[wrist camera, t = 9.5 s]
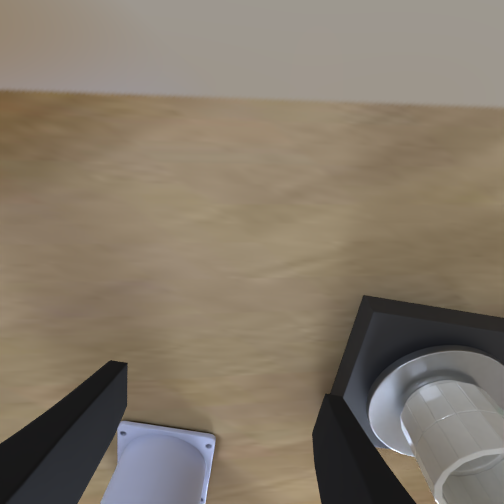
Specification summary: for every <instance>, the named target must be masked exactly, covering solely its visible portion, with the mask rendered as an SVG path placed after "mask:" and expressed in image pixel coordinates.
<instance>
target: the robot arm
mask: <svg viewBox="0 0 504 504" xmlns="http://www.w3.org/2000/svg"><path fill="white" fill-rule="evenodd" d="M126 407H127V363H125V362H118V361H112V360H110V361H109V362H107V363H106V364H105V365H104V366H102V367H101V368H100V369H99V370H98V371H96V372H95V373H94V374H93V375H92V376H90V377H89V378H88V379H87V380H86V381H84V382H83V383H82V384H81V385H79V386H78V387H77V388H76V389H74V390H73V391H72V392H71V393H69V394H68V395H67V396H66V397H64V398H63V399H62V400H60V401H59V402H58V403H57V404H55V405H54V406H53V407H51V408H50V409H49V410H47V411H46V412H45V413H43V414H42V415H41V416H39V417H38V418H36V419H35V420H34V421H32V422H31V423H29V424H28V425H27V426H25V427H24V428H23V429H21V430H20V431H18V432H17V433H15V434H14V435H12V436H11V437H10V438H8V439H7V440H5V441H4V442H2V443H1V444H0V504H77V503H78V502H79V500H80V498H81V496H82V494H83V492H84V491H85V489H86V487H87V485H88V483H89V481H90V480H91V478H92V476H93V474H94V472H95V470H96V469H97V467H98V465H99V463H100V461H101V460H102V458H103V456H104V454H105V452H106V450H107V448H108V447H109V445H110V443H111V441H112V439H113V437H114V435H115V433H116V431H117V428H118V465H117V467H116V469H115V471H114V473H113V476H112V478H111V480H110V482H109V484H108V487H107V489H106V491H105V493H104V496H103V498H102V500H101V502H100V504H205V502H206V496H207V490H208V484H209V478H210V472H211V465H212V459H213V453H214V447H215V441H216V437H215V436H214V435H213V434H209V433H203V432H196V431H189V430H183V429H176V428H170V427H163V426H156V425H150V424H143V423H136V422H130V421H121V419H122V416H123V414H124V411H125V409H126ZM120 421H121V422H120ZM312 438H313V452H314V463H315V470H316V476H317V481H318V487H319V493H320V498H321V503H322V504H416V503H415V501H414V500H413V499H412V498H411V496H410V495H409V494H408V492H407V491H406V490H405V488H404V487H403V486H402V484H401V483H400V482H399V480H398V479H397V478H396V476H395V475H394V474H393V472H392V471H391V469H390V468H389V467H388V465H387V464H386V462H385V461H384V460H383V458H382V457H381V455H380V454H379V452H378V451H377V449H376V448H375V446H374V445H373V443H372V442H371V440H370V439H369V437H368V436H367V434H366V433H365V431H364V430H363V428H362V427H361V425H360V424H359V422H358V421H357V419H356V417H355V416H354V414H353V413H352V411H351V409H350V408H349V406H348V405H347V403H346V402H345V400H344V399H343V397H342V396H337V395H331V394H325V396H324V399H323V402H322V405H321V408H320V411H319V414H318V417H317V420H316V424H315V427H314V430H313V433H312Z"/></svg>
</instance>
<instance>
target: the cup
mask: <svg viewBox="0 0 504 504" xmlns="http://www.w3.org/2000/svg"><path fill="white" fill-rule="evenodd" d="M400 416H401V428H402V431H403V433H404V435H405V437H406V439H407V441H408V443H409V446H410V448H411V450H412V452H413V454H414V456H415V458H416V460H417V463H418V465H419V467H420V469H421V471H422V473H423V475H424V478H425V480H426V482H427V484H428V486H429V488H430V490H431V492H432V495H433V497H434V499H435V500H436V502H437V503H438V504H504V411H503V410H502V409H501V408H500V407H499V406H498V404H497V403H496V402H495V401H494V400H493V399H492V398H491V396H490V395H489V394H488V393H487V392H486V391H484V390H482V389H481V388H479V387H477V386H475V385H474V384H469V383H464V382H461V381H456V380H441V381H436V382H432V383H429V384H427V385H424V386H423V387H421V388H419V389H418V390H416V391H415V392H414V393H412V395H411V396H410V397H409V398H408V399H407V401H406V403H405V405H404V408H403V411H402V413H401V415H400Z"/></svg>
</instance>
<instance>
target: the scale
mask: <svg viewBox="0 0 504 504" xmlns="http://www.w3.org/2000/svg"><path fill="white" fill-rule="evenodd" d="M441 345H461V346H468V347H472V348H476V349H479V350H482V351H484V352H486V353H488V354H490V355H492V356H493V357H495V358H496V359H497V360H499V361H500V362H501V363H502V364H503V365H504V318H500V317H494V316H488V315H482V314H476V313H469V312H463V311H457V310H451V309H445V308H439V307H433V306H426V305H420V304H414V303H408V302H402V301H396V300H390V299H383V298H377V297H371V296H365V295H364V296H363V298H362V301H361V304H360V307H359V310H358V313H357V316H356V319H355V322H354V325H353V328H352V331H351V334H350V337H349V340H348V343H347V346H346V349H345V352H344V355H343V357H342V360H341V363H340V366H339V369H338V372H337V375H336V378H335V381H334V384H333V387H332V390H331V393H330V394H331V395H337V396H342V397H343V399H344V400H345V402H346V403H347V405H348V406H349V408H350V409H351V411H352V413H353V414H354V416H355V417H356V419H357V421H358V422H359V424H360V425H361V427H362V428H363V430H364V431H365V433H366V434H367V436H368V437H369V439H370V440H371V442H372V443H373V445H374V446H375V447H380V448H387V449H391V448H389V447H388V446H386V445H385V444H384V443H382V442H381V441H380V440H379V439H378V437H377V436H376V435H375V434H374V432H373V431H372V428H371V426H370V423H369V421H368V418H367V414H366V401H367V396H368V393H369V390H370V388H371V386H372V384H373V383H374V381H375V380H376V378H377V377H378V376H379V375H380V374H381V373H382V371H384V370H385V369H386V368H387V367H388V366H389V365H391V364H392V363H394V362H395V361H396V360H398V359H400V358H402V357H404V356H405V355H408V354H410V353H412V352H415V351H418V350H421V349H424V348H428V347H433V346H441Z"/></svg>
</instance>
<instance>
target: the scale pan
mask: <svg viewBox="0 0 504 504" xmlns="http://www.w3.org/2000/svg"><path fill="white" fill-rule="evenodd" d="M441 380H456V381H461V382H464V383H469V384H474V385H475V386H477V387H479V388H481V389H482V390H484V391H486V392H487V393H488V394H489V395H490V396H491V398H492V399H493V400H494V401H495V402H496V403H497V404H498V406H499V407H500V408H501V409H502V410H503V411H504V365H503V364H502V363H501V362H500V361H499V360H497V359H496V358H495V357H493V356H492V355H490V354H488V353H486V352H484V351H482V350H479V349H476V348H472V347H468V346H461V345H441V346H433V347H428V348H424V349H421V350H418V351H415V352H412V353H410V354H408V355H405V356H404V357H402V358H400V359H398V360H396V361H395V362H394V363H392V364H391V365H389V366H388V367H387V368H386V369H385V370H384V371H382V373H381V374H380V375H379V376H378V377H377V378H376V380H375V381H374V383H373V384H372V386H371V388H370V390H369V393H368V396H367V401H366V414H367V418H368V421H369V423H370V426H371V428H372V431H373V432H374V434H375V435H376V436H377V437H378V439H379V440H380V441H381V442H382V443H384V444H385V445H386V446H388V447H389V448H391V449H393V450H395V451H397V452H399V453H402V454H405V455H409V456H414V454H413V452H412V450H411V448H410V446H409V443H408V441H407V439H406V437H405V435H404V433H403V431H402V428H401V416H400V415H401V413H402V411H403V408H404V405H405V403H406V401H407V399H408V398H409V397H410V396H411V395H412V393H414V392H415V391H416V390H418V389H419V388H421V387H423V386H424V385H427V384H429V383H432V382H436V381H441ZM414 457H415V456H414Z"/></svg>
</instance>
